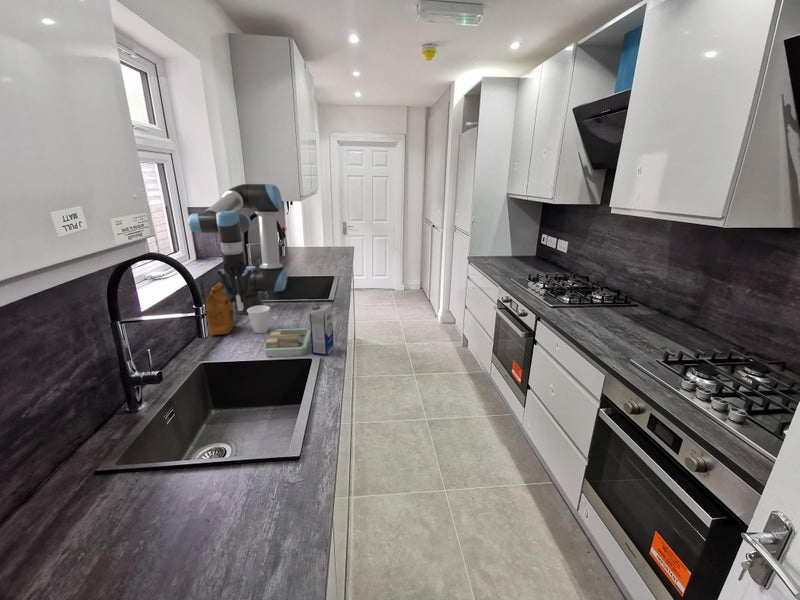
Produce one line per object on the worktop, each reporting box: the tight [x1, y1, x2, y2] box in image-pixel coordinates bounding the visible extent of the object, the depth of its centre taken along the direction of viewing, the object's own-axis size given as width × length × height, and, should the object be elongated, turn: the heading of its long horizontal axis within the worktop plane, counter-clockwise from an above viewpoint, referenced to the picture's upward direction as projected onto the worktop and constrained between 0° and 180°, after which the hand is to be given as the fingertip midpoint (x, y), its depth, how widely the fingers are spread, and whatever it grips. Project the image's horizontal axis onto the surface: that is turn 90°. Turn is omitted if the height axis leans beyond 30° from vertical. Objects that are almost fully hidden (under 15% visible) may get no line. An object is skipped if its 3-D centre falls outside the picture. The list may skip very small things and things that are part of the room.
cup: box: [247, 305, 271, 335], centre depth 164 cm, size 10×10×11 cm
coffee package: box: [205, 282, 235, 337], centre depth 161 cm, size 10×12×22 cm
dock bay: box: [265, 327, 311, 357], centre depth 152 cm, size 21×16×3 cm
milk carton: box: [308, 304, 335, 357], centre depth 143 cm, size 7×7×20 cm
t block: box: [265, 330, 300, 350], centre depth 151 cm, size 12×12×4 cm
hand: (240, 309), depth 145 cm, fingers closed
